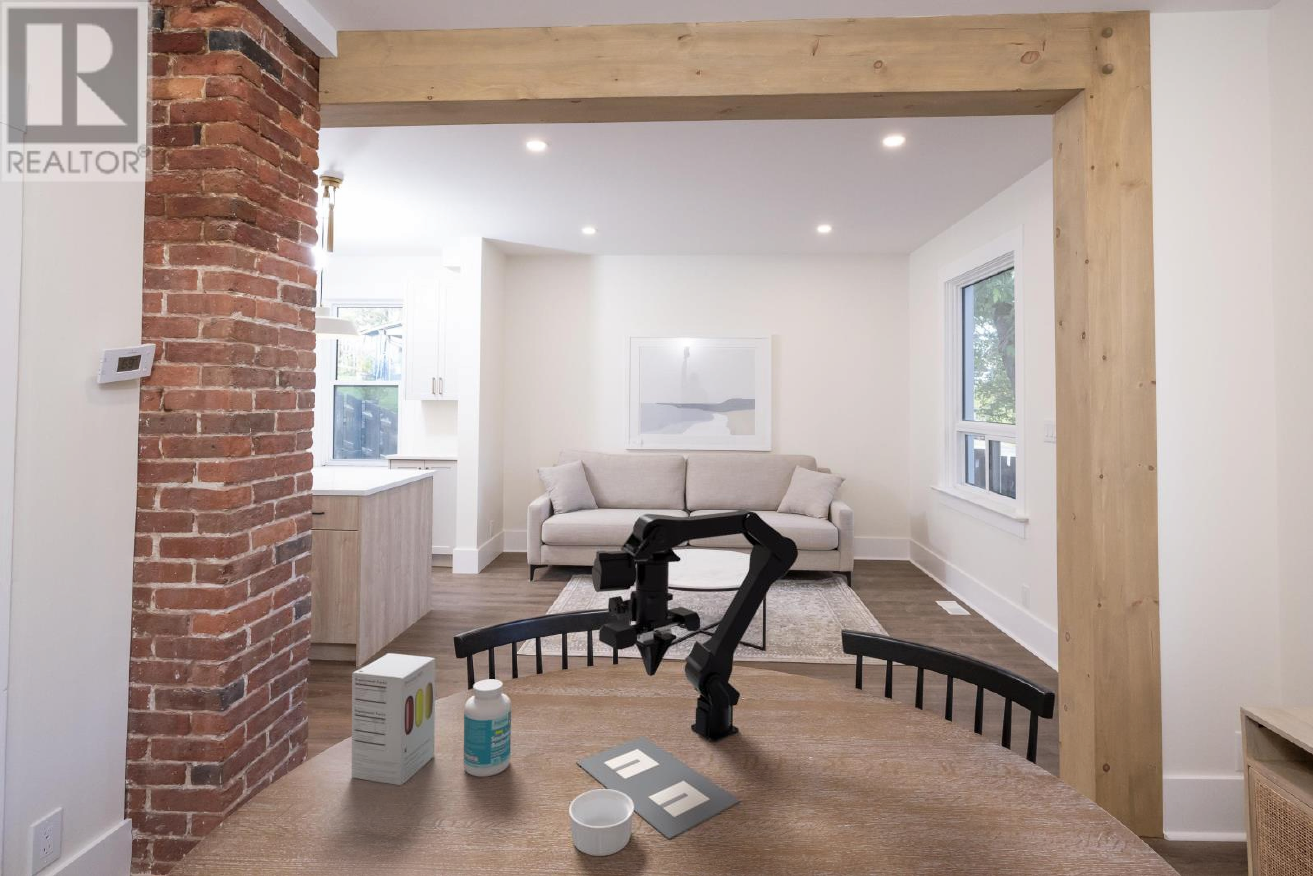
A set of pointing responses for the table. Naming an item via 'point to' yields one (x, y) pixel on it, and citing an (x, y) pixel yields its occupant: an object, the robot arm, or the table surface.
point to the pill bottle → (487, 729)
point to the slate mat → (659, 785)
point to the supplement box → (393, 718)
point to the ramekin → (601, 821)
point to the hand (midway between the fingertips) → (650, 675)
